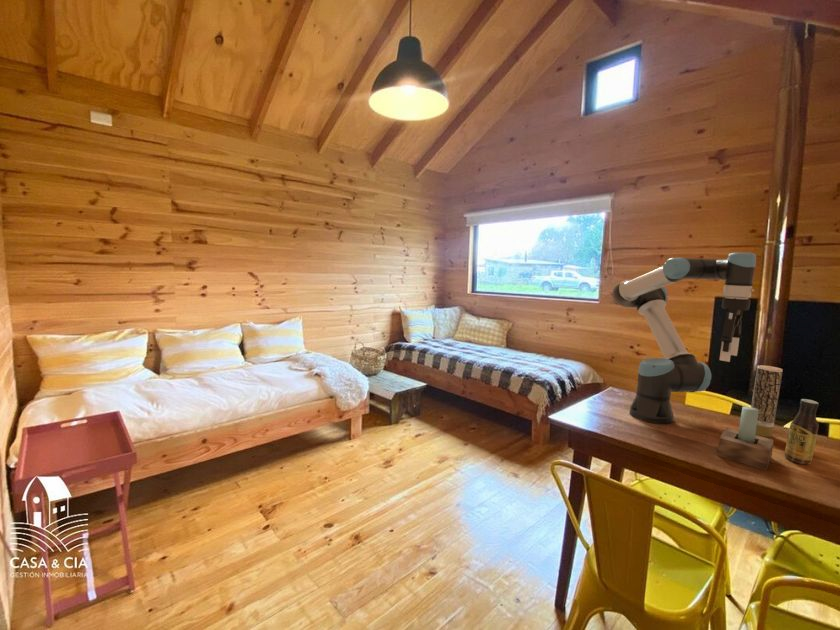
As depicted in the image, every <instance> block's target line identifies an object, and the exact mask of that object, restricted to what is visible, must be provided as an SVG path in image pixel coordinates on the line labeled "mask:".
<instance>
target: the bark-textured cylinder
mask: <svg viewBox="0 0 840 630" xmlns="http://www.w3.org/2000/svg"><path fill="white" fill-rule="evenodd" d="M782 377H783V368H780V367H777V366H771V365H764V364H762V365H761V364H760V365H757V368H756V374H755V380H754V386H753V391H752V398H751V406H750V407H752V408H756V409H758V410H759V413H758V420H757V427H756V434H755V435H757V436H761V437H765V438H771V437H772V436H773V432H774V428H775V422H776V421H775V420H776V413H777V407H778V402H779V396H780V389H781V386H782V385H781V384H782Z"/></svg>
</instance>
